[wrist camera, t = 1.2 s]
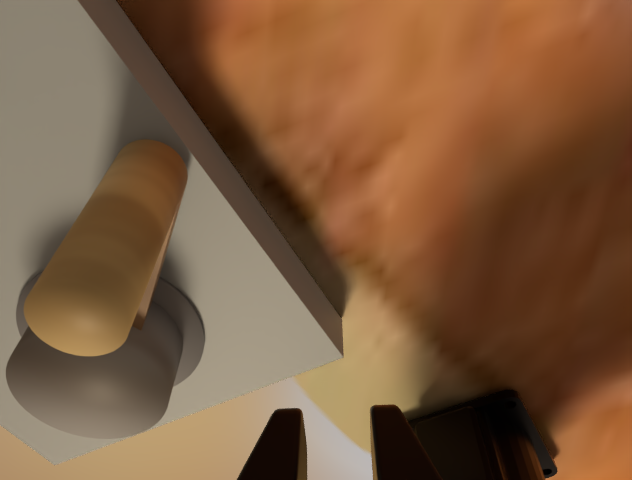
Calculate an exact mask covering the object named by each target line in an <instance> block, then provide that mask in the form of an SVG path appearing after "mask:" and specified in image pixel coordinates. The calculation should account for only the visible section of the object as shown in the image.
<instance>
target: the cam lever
mask: <svg viewBox="0 0 632 480" xmlns="http://www.w3.org/2000/svg"><path fill="white" fill-rule="evenodd" d="M187 180H188V173H187V168H186V165H185V163H184V161H183V159H182V158H181V157H180V155H179V154H178V153H177V152H176V151H175V150H174V149H172V148H171V147H169V146H168V145H166V144H164V143H162V142H159V141H155V140H150V139H142V140H136V141H133V142H131V143H129V144H127V145H126V146H124V147H123V148H122V149H121V150H120V152H119V153H118V155H117V157H116V158H115V160H114V161H113V163H112V164H111V166H110V167H109V169H108V171H107V172H106V174H105V175H104V177H103V178H102V180H101V182H100V183H99V185H98V186H97V188H96V189H95V191H94V193H93V194H92V196H91V197H90V199H89V200H88V202H87V204H86V205H85V207H84V208H83V210H82V211H81V213H80V215H79V216H78V218H77V219H76V221H75V222H74V224H73V226H72V227H71V229H70V230H69V232H68V233H67V235H66V236H65V238H64V240H63V241H62V243H61V244H60V246H59V247H58V249H57V251H56V252H55V254H54V255H53V257H52V258H51V260H50V262H49V263H48V265H47V266H46V268H45V269H44V271H43V273H42V274H41V276H40V277H39V279H38V280H37V282H36V284H35V285H34V287H33V288H32V290H31V291H30V293H29V295H28V296H27V298H26V300H25V303H24V316H25V319H26V322H27V323H28V325H29V326H28V327H27V329H26V331H25V332H24V334H23V336H22V337H21V339H20V341H19V342H18V344H17V346H16V347H15V349H14V351H13V353H12V354H11V356H10V358H9V360H8V362H7V366H6V380H7V384H8V387H9V389H10V391H11V393H12V395H13V396H14V398H15V399H16V400H17V402H18V403H19V404H20V405H21V406H22V407H23V408H24V409H25V410H26V411H27V412H29V413H30V414H31V415H32V416H34V417H35V418H37V419H38V420H40V421H41V422H43V423H45V424H47V425H49V426H51V427H53V428H56V429H58V430H61V431H64V432H66V433H70V434H73V435H77V436H82V437H88V438H96V439H116V438H124V437H129V436H133V435H136V434H139V433H142V432H144V431H146V430H148V429H150V428H151V427H153V426H154V425H155V424H157V423H158V422H159V421H160V420H161V418H162V417H163V416H164V414H165V412H166V410H167V408H168V404H169V400H170V396H171V393H172V389H173V385H174V382H175V378H176V374H177V370H178V367H179V363H180V359H181V355H182V350H183V343H182V337H181V334H180V331H179V329H178V327H177V325H176V324H175V322H174V321H173V319H172V318H171V317H170V316H169V315H168V313H167V312H166V311H165V310H164V309H162V308H161V307H160V306H159V305H158V304H156V303H155V302H153V301H152V300H153V297H154V293H155V290H156V286H157V283H158V280H159V276H160V273H161V269H162V266H163V263H164V259H165V256H166V252H167V249H168V246H169V242H170V239H171V235H172V232H173V229H174V225H175V222H176V218H177V215H178V212H179V208H180V205H181V201H182V198H183V195H184V191H185V188H186V184H187Z"/></svg>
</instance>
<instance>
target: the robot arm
mask: <svg viewBox="0 0 632 480" xmlns="http://www.w3.org/2000/svg"><path fill="white" fill-rule="evenodd" d="M370 431H371V455H372V470H373V480H545V478H549V477H552V476H554V475H555V474H556V473H557V467H556V465H555V462H554V460H553V458H552V456H551V454H550V452H549V450H548V448H547V447H546V445H545V443H544V441H543V439H542V437H541V435H540V433H539V431H538V429H537V427H536V425H535V424H534V422H533V420H532V418H531V416H530V414H529V412H528V410H527V408H526V406H525V404H524V403H523V401H522V399H521V397H520V395H519V393H518V392H517V391H514V390H504V391H501V392H498V393H495V394H492V395H489V396H486V397H483V398H480V399H476V400H473V401H470V402H467V403H464V404H461V405H458V406H455V407H452V408H449V409H446V410H443V411H440V412H437V413H434V414H430V415H427V416H424V417H421V418H418V419H415V420H412V421H409V422H407V420H406V418H405V417H404V415H403V413H402V412H401V410H400V409H399V408H398V406H396V405H374V406H372V407H371V409H370ZM237 480H307V445H306V436H305V428H304V420H303V413H302V411H301V410H300V409H298V408H287V409H277V410H275V411H274V413H273V414H272V416H271V417H270V419H269V421H268V423H267V425H266V427H265V428H264V430H263V432H262V434H261V436H260V438H259V440H258V441H257V443H256V445H255V447H254V449H253V451H252V453H251V454H250V456H249V458H248V460H247V462H246V464H245V465H244V467H243V469H242V471H241V473H240V475H239V477H238V478H237Z"/></svg>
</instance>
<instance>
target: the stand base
mask: <svg viewBox="0 0 632 480" xmlns="http://www.w3.org/2000/svg"><path fill="white" fill-rule="evenodd" d="M142 139H150V140H155V141H159V142H162V143H164V144H166V145H168V146H169V147H171V148H172V149H174V150H175V151H176V152H177V153H178V154H179V155H180V157H181V158H182V159H183V161H184V163H185V165H186V168H187V173H188V180H187V184H186V188H185V191H184V195H183V198H182V201H181V205H180V208H179V212H178V215H177V218H176V222H175V225H174V229H173V232H172V235H171V239H170V242H169V246H168V249H167V252H166V256H165V259H164V263H163V266H162V269H161V273H160V276H159V280H158V283H157V286H156V290H155V293H154V297H153V300H152V301H153V302H155V303H156V304H158V305H159V306H160V307H161V308H162V309H164V310H165V311H166V312H167V313H168V315H169V316H170V317H171V318H172V319H173V321H174V322H175V324H176V325H177V327H178V329H179V331H180V334H181V337H182V343H183V350H182V355H181V359H180V363H179V367H178V370H177V374H176V378H175V382H174V385H173V389H172V393H171V396H170V400H169V404H168V408H167V410H166V412H165V414H164V416H163V417H162V418H161V420H160V421H159V422H158V423H157V424H155V425H154V426H153V427H151V428H150V429H148V430H151V429H153V428H156V427H159V426H161V425H164V424H167V423H169V422H172V421H175V420H177V419H180V418H183V417H185V416H188V415H191V414H194V413H196V412H199V411H202V410H204V409H207V408H209V407H212V406H215V405H217V404H220V403H223V402H225V401H228V400H231V399H234V398H236V397H239V396H242V395H244V394H247V393H250V392H252V391H255V390H258V389H260V388H263V387H266V386H268V385H271V384H274V383H276V382H279V381H281V380H284V379H287V378H290V377H293V376H295V375H298V374H301V373H303V372H306V371H309V370H311V369H314V368H317V367H319V366H322V365H325V364H327V363H330V362H333V361H335V360H338V359H341V358H343V333H342V319H341V317H340V316H339V315H338V313H337V312H336V310H335V309H334V308H333V306H332V305H331V303H330V302H329V300H328V299H327V298H326V296H325V295H324V293H323V292H322V291H321V289H320V288H319V286H318V285H317V284H316V282H315V281H314V279H313V278H312V276H311V275H310V274H309V272H308V271H307V269H306V268H305V267H304V265H303V264H302V262H301V261H300V260H299V258H298V257H297V255H296V254H295V253H294V251H293V250H292V248H291V247H290V245H289V244H288V243H287V241H286V240H285V238H284V237H283V236H282V234H281V233H280V231H279V230H278V229H277V227H276V226H275V224H274V223H273V221H272V220H271V219H270V217H269V216H268V214H267V213H266V212H265V210H264V209H263V207H262V206H261V205H260V203H259V202H258V200H257V199H256V197H255V196H254V195H253V193H252V192H251V190H250V189H249V188H248V186H247V185H246V183H245V182H244V181H243V179H242V178H241V176H240V175H239V173H238V172H237V171H236V169H235V168H234V166H233V165H232V164H231V162H230V161H229V159H228V158H227V157H226V155H225V154H224V152H223V151H222V149H221V148H220V147H219V145H218V144H217V142H216V141H215V140H214V138H213V137H212V135H211V134H210V133H209V131H208V130H207V128H206V127H205V126H204V124H203V123H202V121H201V120H200V118H199V117H198V116H197V114H196V113H195V111H194V110H193V109H192V107H191V106H190V104H189V103H188V102H187V100H186V99H185V97H184V96H183V94H182V93H181V92H180V90H179V89H178V87H177V86H176V85H175V83H174V82H173V80H172V79H171V78H170V76H169V75H168V73H167V72H166V70H165V69H164V68H163V66H162V65H161V63H160V62H159V61H158V59H157V58H156V56H155V55H154V54H153V52H152V51H151V49H150V48H149V46H148V45H147V44H146V42H145V41H144V39H143V38H142V37H141V35H140V34H139V32H138V31H137V30H136V28H135V27H134V25H133V24H132V23H131V21H130V20H129V18H128V17H127V15H126V14H125V13H124V11H123V10H122V8H121V7H120V6H119V4H118V3H117V1H116V0H0V425H1V426H2V427H3V428H5V429H6V430H7V431H9V432H10V433H11V434H13V435H14V436H16V437H17V438H18V439H20V440H21V441H22V442H24V443H25V444H27V445H28V446H29V447H30V448H32V449H33V450H35V451H36V452H38V453H39V454H40V455H41V456H43V457H44V458H45V459H47V460H48V461H49V462H51V463H52V464H54V465H57V464H59V463H62V462H65V461H68V460H70V459H73V458H76V457H78V456H81V455H84V454H86V453H89V452H92V451H94V450H97V449H100V448H102V447H105V446H107V445H110V444H113V443H116V442H118V441H121V440H124V439H126V438H129V437H132V436H129V437H124V438H116V439H96V438H88V437H82V436H77V435H73V434H70V433H66V432H64V431H61V430H58V429H56V428H53V427H51V426H49V425H47V424H45V423H43V422H41V421H40V420H38V419H37V418H35V417H34V416H32V415H31V414H30V413H29V412H27V411H26V410H25V409H24V408H23V407H22V406H21V405H20V404H19V403H18V402H17V400H16V399H15V398H14V396H13V395H12V393H11V391H10V389H9V387H8V384H7V380H6V366H7V362H8V360H9V358H10V356H11V354H12V353H13V351H14V349H15V347H16V346H17V344H18V342H19V341H20V339H21V337H22V336H23V334H24V332H25V331H26V329H27V327H28V326H29V325H28V323H27V322H26V319H25V316H24V303H25V300H26V298H27V296H28V295H29V293H30V291H31V290H32V288H33V287H34V285H35V284H36V282H37V280H38V279H39V277H40V276H41V274H42V273H43V271H44V269H45V268H46V266H47V265H48V263H49V262H50V260H51V258H52V257H53V255H54V254H55V252H56V251H57V249H58V247H59V246H60V244H61V243H62V241H63V240H64V238H65V236H66V235H67V233H68V232H69V230H70V229H71V227H72V226H73V224H74V222H75V221H76V219H77V218H78V216H79V215H80V213H81V211H82V210H83V208H84V207H85V205H86V204H87V202H88V200H89V199H90V197H91V196H92V194H93V193H94V191H95V189H96V188H97V186H98V185H99V183H100V182H101V180H102V178H103V177H104V175H105V174H106V172H107V171H108V169H109V167H110V166H111V164H112V163H113V161H114V160H115V158H116V157H117V155H118V153H119V152H120V150H121V149H122V148H123V147H124V146H126V145H127V144H129V143H131V142H133V141H136V140H142ZM148 430H146V431H148ZM144 432H145V431H144ZM142 433H143V432H142ZM139 434H140V433H139ZM136 435H137V434H136ZM133 436H135V435H133Z"/></svg>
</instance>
